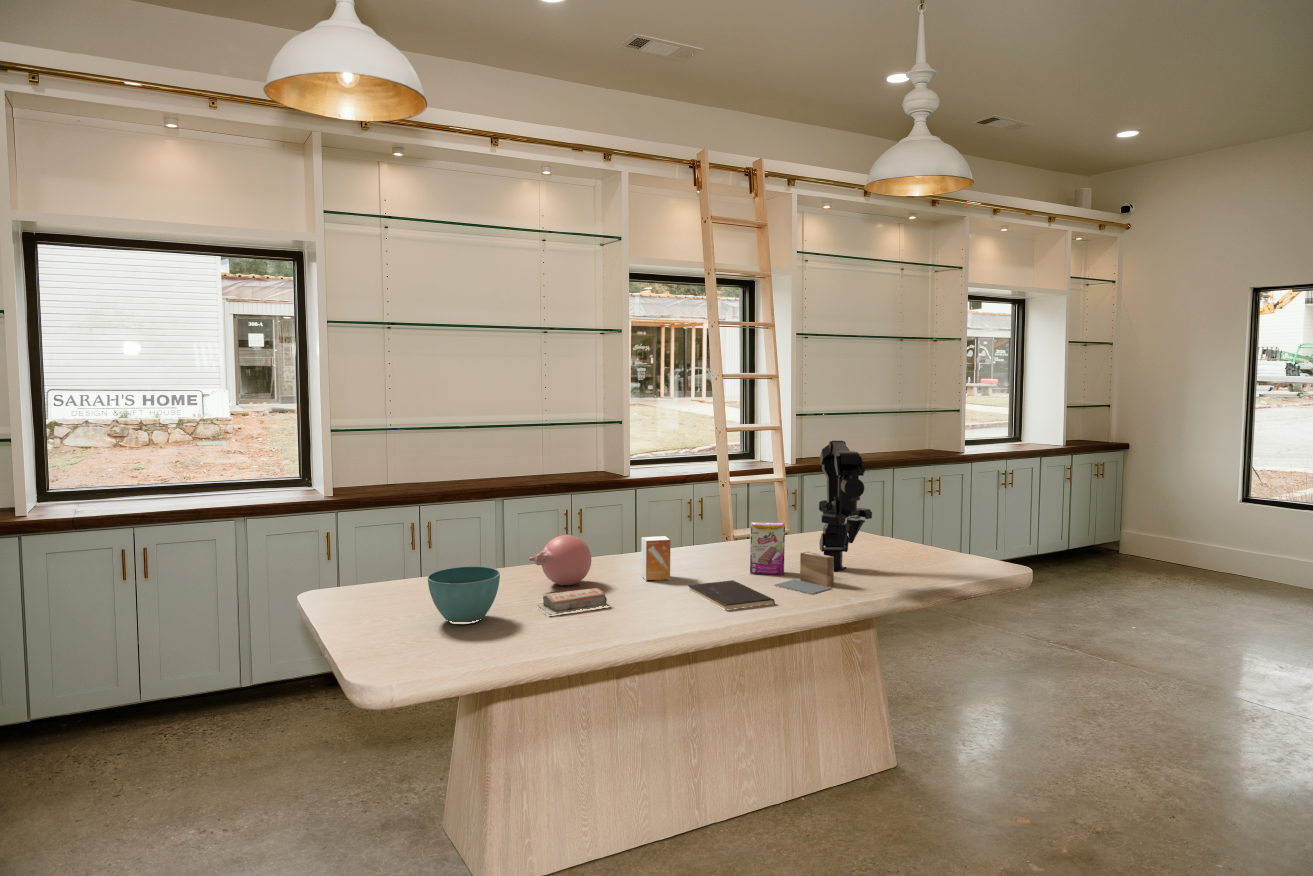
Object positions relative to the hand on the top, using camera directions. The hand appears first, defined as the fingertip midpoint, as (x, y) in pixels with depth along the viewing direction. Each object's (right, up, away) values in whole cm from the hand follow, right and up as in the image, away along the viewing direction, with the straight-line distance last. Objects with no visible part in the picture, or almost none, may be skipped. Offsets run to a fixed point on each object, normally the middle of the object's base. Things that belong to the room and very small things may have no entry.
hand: (846, 544), depth 236 cm
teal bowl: (-108, -15, -35) cm, 114 cm away
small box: (-58, -13, +10) cm, 61 cm away
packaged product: (-81, -15, -23) cm, 86 cm away
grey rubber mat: (-13, -13, -1) cm, 19 cm away
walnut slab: (-8, -13, +4) cm, 16 cm away
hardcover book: (-37, -15, -12) cm, 41 cm away
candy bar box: (-22, -12, +17) cm, 31 cm away
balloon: (-88, -13, +1) cm, 89 cm away
